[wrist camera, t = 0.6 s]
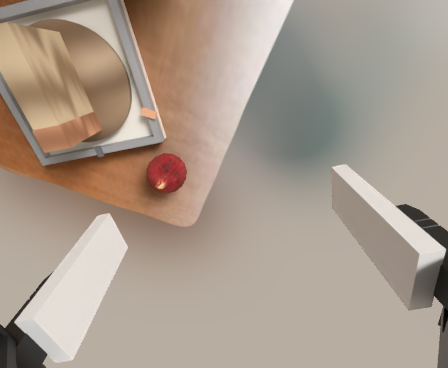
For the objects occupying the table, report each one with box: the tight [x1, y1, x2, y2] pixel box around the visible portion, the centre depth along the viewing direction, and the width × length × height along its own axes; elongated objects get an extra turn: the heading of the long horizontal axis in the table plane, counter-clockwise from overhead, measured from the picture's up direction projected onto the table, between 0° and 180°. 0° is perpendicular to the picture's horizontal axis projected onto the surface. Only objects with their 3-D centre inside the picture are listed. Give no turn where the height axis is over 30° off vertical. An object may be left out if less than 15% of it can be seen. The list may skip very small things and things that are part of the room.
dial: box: [0, 19, 132, 153], centre depth 29 cm, size 15×15×9 cm
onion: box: [147, 153, 187, 193], centre depth 36 cm, size 6×6×8 cm
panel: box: [0, 0, 166, 166], centre depth 33 cm, size 19×20×3 cm
